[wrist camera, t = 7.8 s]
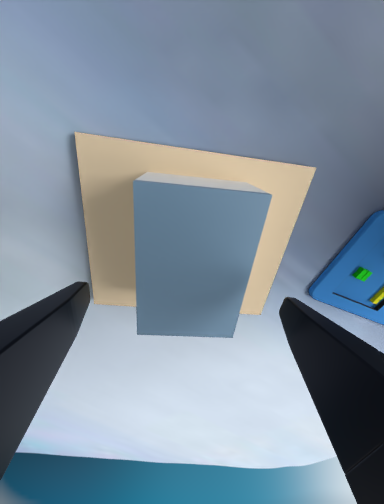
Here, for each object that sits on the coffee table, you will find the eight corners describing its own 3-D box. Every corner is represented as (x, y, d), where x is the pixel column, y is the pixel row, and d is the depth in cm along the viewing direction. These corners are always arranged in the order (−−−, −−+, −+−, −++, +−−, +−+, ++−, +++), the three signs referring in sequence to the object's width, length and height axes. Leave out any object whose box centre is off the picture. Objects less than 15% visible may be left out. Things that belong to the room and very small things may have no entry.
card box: (221, 296, 16) (232, 337, 13) (147, 293, 16) (137, 334, 12) (246, 182, 12) (272, 195, 9) (147, 171, 12) (132, 181, 8)
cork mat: (310, 167, 13) (316, 167, 12) (258, 310, 18) (260, 314, 17) (79, 132, 11) (74, 131, 11) (97, 299, 17) (94, 303, 16)
